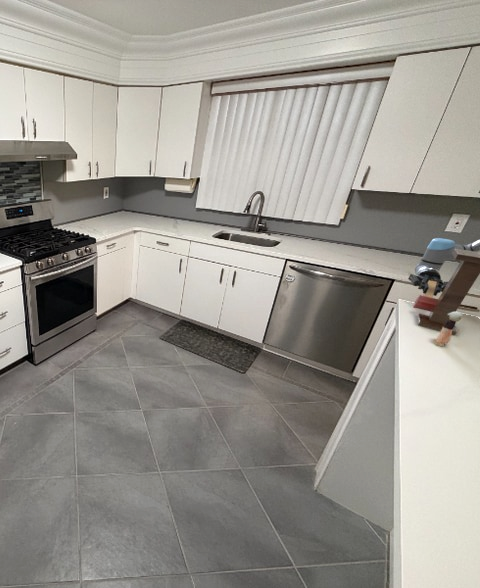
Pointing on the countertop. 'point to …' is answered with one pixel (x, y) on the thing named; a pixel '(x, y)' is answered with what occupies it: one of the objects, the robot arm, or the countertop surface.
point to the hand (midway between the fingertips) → (431, 291)
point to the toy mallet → (427, 298)
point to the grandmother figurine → (448, 328)
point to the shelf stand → (453, 290)
